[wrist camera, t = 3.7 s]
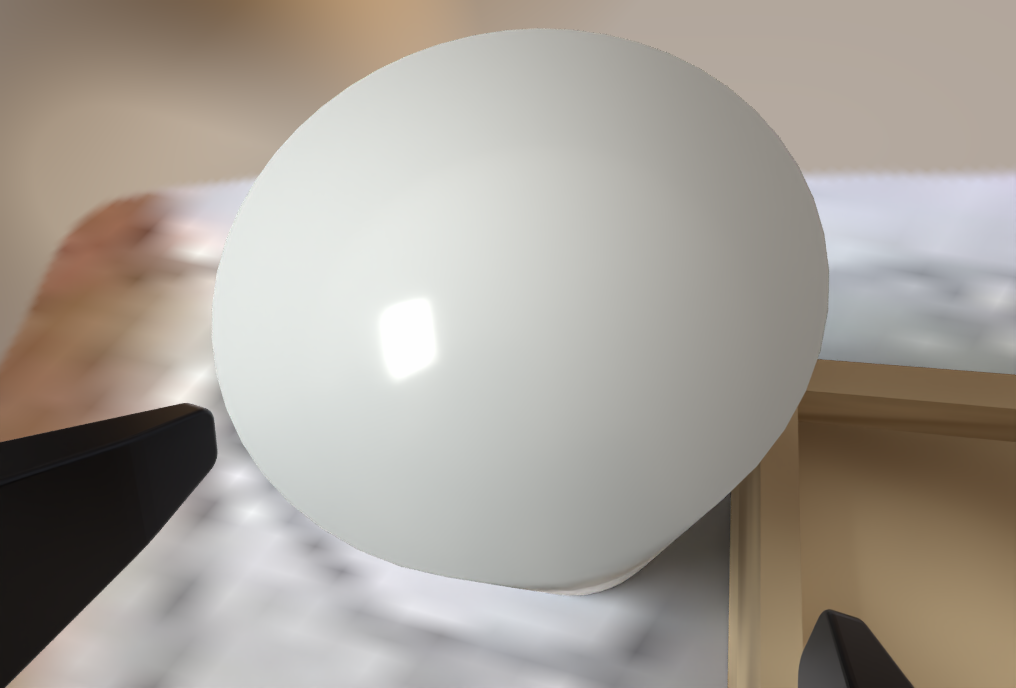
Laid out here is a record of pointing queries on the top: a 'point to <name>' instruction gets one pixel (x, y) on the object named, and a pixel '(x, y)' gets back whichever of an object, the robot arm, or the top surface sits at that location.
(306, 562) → the top surface
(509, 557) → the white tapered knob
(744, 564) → the open wooden box
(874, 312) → the top surface
